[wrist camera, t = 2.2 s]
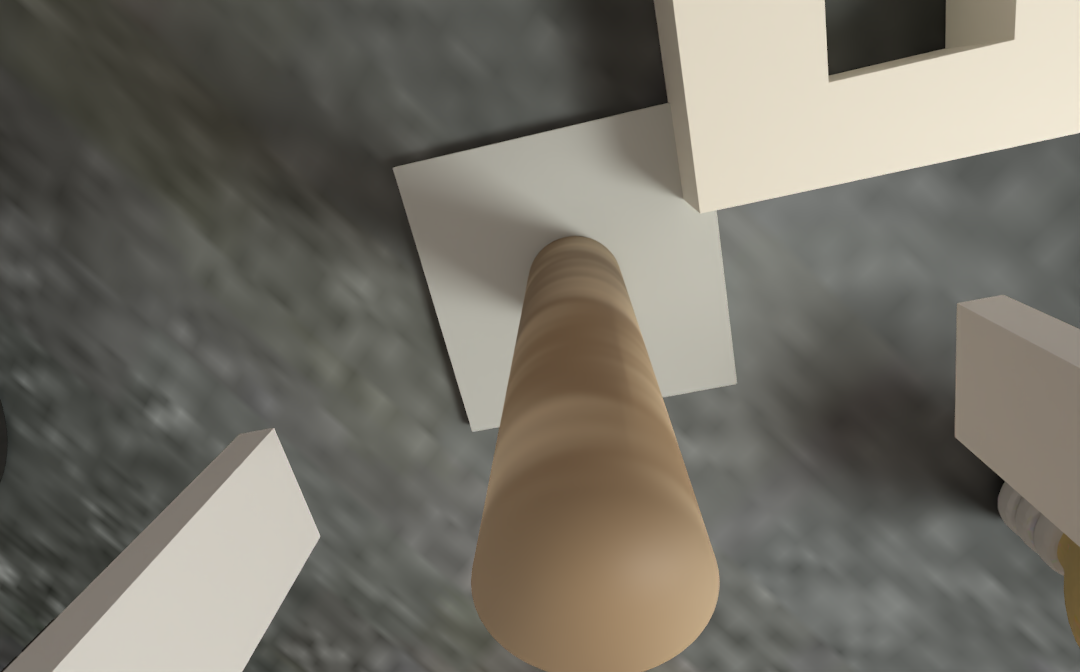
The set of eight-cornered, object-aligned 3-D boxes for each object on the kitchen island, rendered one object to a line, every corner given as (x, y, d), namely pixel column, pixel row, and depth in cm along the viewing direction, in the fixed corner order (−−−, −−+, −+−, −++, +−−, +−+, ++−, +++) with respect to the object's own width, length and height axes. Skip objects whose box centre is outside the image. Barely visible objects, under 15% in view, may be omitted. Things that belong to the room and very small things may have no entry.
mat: (473, 426, 24) (472, 431, 23) (395, 166, 20) (392, 168, 20) (734, 379, 22) (737, 383, 22) (699, 94, 19) (702, 94, 19)
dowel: (539, 333, 22) (504, 692, 9) (518, 246, 20) (441, 509, 7) (628, 316, 21) (732, 661, 8) (612, 227, 20) (702, 466, 7)
